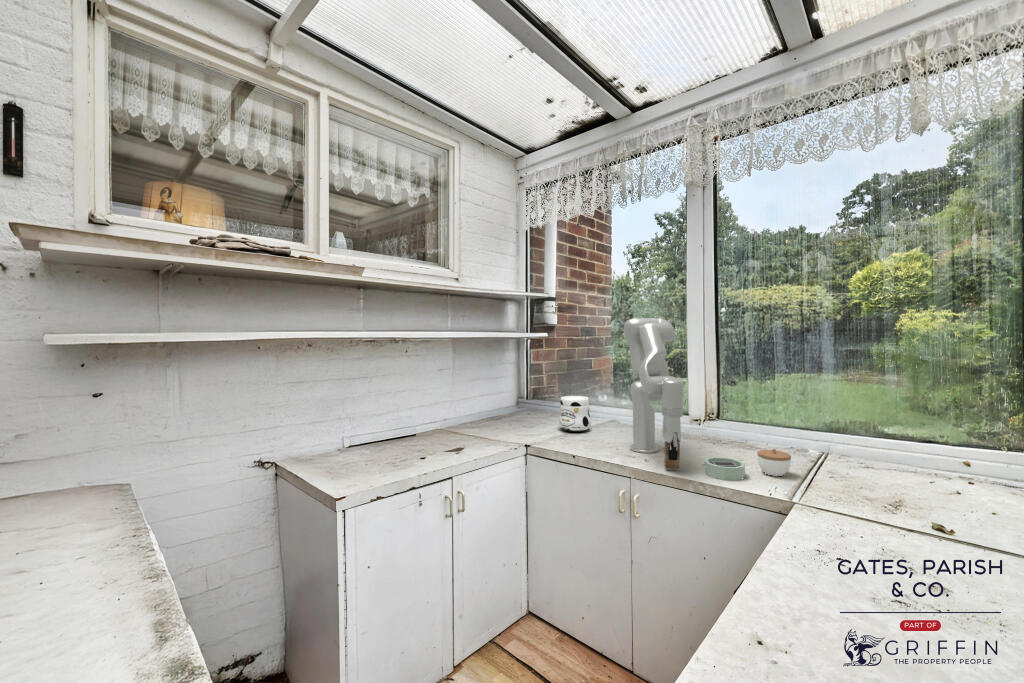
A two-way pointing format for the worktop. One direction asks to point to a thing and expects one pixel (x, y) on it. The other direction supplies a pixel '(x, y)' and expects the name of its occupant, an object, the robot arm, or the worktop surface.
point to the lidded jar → (774, 462)
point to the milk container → (574, 414)
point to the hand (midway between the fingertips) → (672, 458)
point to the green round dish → (724, 468)
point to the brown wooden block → (672, 463)
